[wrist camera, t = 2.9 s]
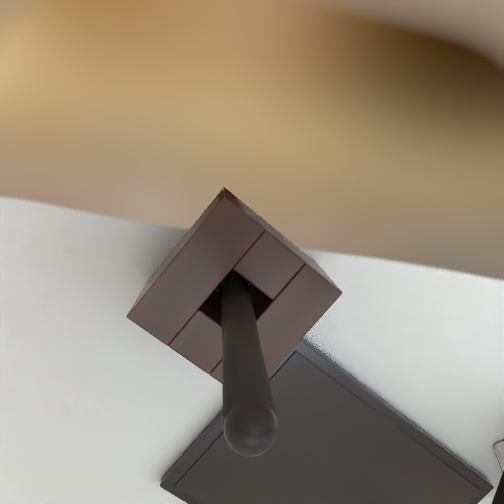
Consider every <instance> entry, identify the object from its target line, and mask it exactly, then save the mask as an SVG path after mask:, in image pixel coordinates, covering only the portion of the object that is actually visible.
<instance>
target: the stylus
mask: <svg viewBox="0 0 504 504" xmlns="http://www.w3.org/2000/svg"><path fill="white" fill-rule="evenodd" d="M221 301H222V369H223V430H224V435H225V439H226V440H227V442H228V444H229V446H230V447H231V448H232V449H233V450H234V451H235V452H236V453H238V454H240V455H243V456H247V457H255V456H259V455H261V454H263V453H265V452H267V451H268V450H269V449H270V448H271V447H272V445H273V444H274V442H275V440H276V437H277V433H278V420H277V415H276V411H275V406H274V401H273V397H272V392H271V387H270V383H269V378H268V374H267V369H266V364H265V360H264V355H263V351H262V346H261V341H260V337H259V332H258V328H257V323H256V318H255V314H254V309H253V305H252V300H251V295H250V291H249V286H248V281H247V280H246V279H245V278H243V277H242V276H241V275H240V274H238V273H237V272H236V271H234V270H233V268H232V269H231V271H230V272H229V273H228V274H227V275H226V277H225V278H224V279H223V280H222V281H221Z"/></svg>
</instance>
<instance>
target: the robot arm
mask: <svg viewBox="0 0 504 504" xmlns="http://www.w3.org/2000/svg"><path fill="white" fill-rule="evenodd" d="M492 504H504V471H503V474H502V476H501V479H500V482H499V485H498V488H497V491H496V493H495V496H494V499H493V502H492Z"/></svg>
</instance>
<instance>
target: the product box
mask: <svg viewBox="0 0 504 504" xmlns="http://www.w3.org/2000/svg"><path fill="white" fill-rule="evenodd" d="M494 450H495V453H496V455H497V457H498V460H499V462H500V465H501V468H502V470H503V471H504V441H501V442H499V443H497V444H496V445H495V446H494Z"/></svg>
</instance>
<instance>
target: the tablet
mask: <svg viewBox="0 0 504 504" xmlns="http://www.w3.org/2000/svg"><path fill="white" fill-rule="evenodd" d="M268 378H269V383H270V387H271V392H272V397H273V401H274V406H275V411H276V415H277V420H278V433H277V437H276V440H275V442H274V444H273V445H272V447H271V448H270V449H269V450H268V451H267V452H265V453H263V454H261V455H259V456H255V457H247V456H243V455H240V454H238V453H236V452H235V451H234V450H233V449H232V448H231V447H230V446H229V444H228V442H227V440H226V439H225V435H224V430H223V410H222V411H221V412H220V413H219V414H218V416H217V417H216V418H215V419H214V420H213V421H212V422H211V423H210V425H209V426H208V427H207V428H206V429H205V430H204V431H203V432H202V433H201V435H200V436H199V437H198V438H197V439H196V440H195V441H194V442H193V444H192V445H191V446H190V447H189V448H188V449H187V450H186V451H185V453H184V454H183V455H182V456H181V457H180V458H179V459H178V460H177V462H176V463H175V464H174V465H173V466H172V467H171V468H170V469H169V471H168V472H167V473H166V474H165V475H164V476H163V477H162V479H161V483H160V487H162V488H163V489H165V490H167V491H168V492H170V493H172V494H173V495H175V496H176V497H178V498H180V499H181V500H183V501H185V502H186V503H188V504H478V503H479V502H480V501H481V500H482V499H483V498H484V497H485V496H486V495H487V494H488V493H489V492H490V491H491V490H492V489H493V488H494V487H493V485H492V484H491V483H490V482H489V480H487V479H486V478H485V477H483V476H482V475H481V474H480V473H478V472H477V471H476V470H474V469H473V468H472V467H470V466H469V465H468V464H466V463H465V462H464V461H463V460H461V459H460V458H459V457H457V456H456V455H455V454H453V453H452V452H451V451H449V450H448V449H447V448H446V447H444V446H443V445H442V444H440V443H439V442H438V441H436V440H435V439H434V438H433V437H431V436H430V435H429V434H427V433H426V432H425V431H423V430H422V429H421V428H419V427H418V426H417V425H416V424H414V423H413V422H412V421H410V420H409V419H408V418H406V417H405V416H404V415H402V414H401V413H400V412H399V411H397V410H396V409H395V408H393V407H392V406H391V405H389V404H388V403H387V402H385V401H384V400H383V399H382V398H380V397H379V396H378V395H376V394H375V393H374V392H372V391H371V390H370V389H369V388H367V387H366V386H365V385H363V384H362V383H361V382H359V381H358V380H357V379H355V378H354V377H353V376H352V375H350V374H349V373H348V372H346V371H345V370H344V369H342V368H341V367H340V366H338V365H337V364H336V363H335V362H333V361H332V360H331V359H329V358H328V357H327V356H325V355H324V354H323V353H321V352H320V351H319V350H318V349H316V348H315V347H314V346H312V345H311V344H310V343H308V342H307V341H306V340H304V339H303V338H302V339H301V340H300V341H299V342H298V343H297V344H296V345H295V346H294V348H293V349H292V350H291V351H290V352H289V353H288V354H287V355H286V356H285V358H284V359H283V360H282V361H281V362H280V363H279V364H278V365H277V367H276V368H275V369H274V370H273V371H272V372H271V373H270V374H269V375H268Z"/></svg>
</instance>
